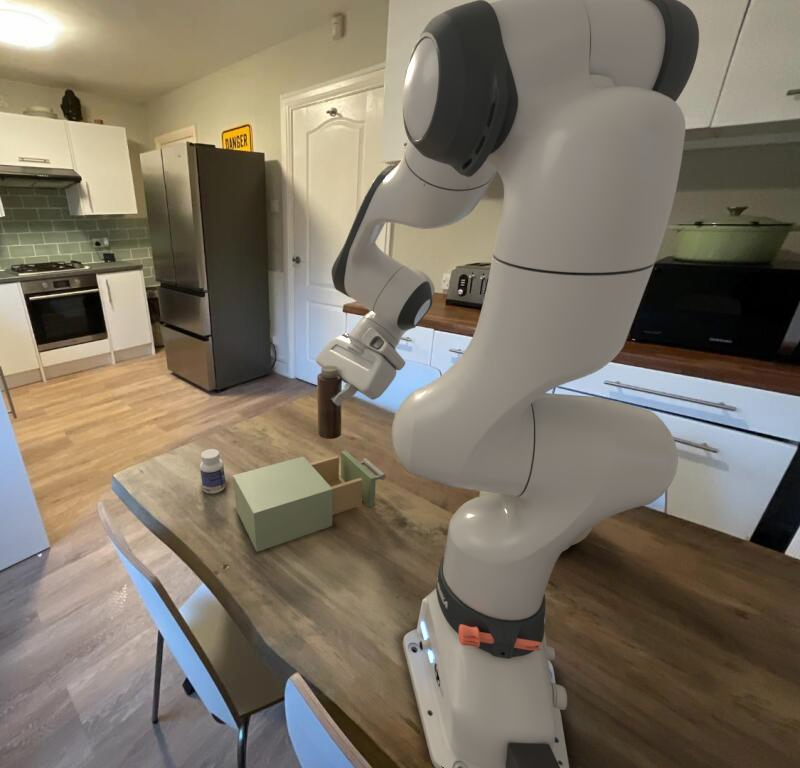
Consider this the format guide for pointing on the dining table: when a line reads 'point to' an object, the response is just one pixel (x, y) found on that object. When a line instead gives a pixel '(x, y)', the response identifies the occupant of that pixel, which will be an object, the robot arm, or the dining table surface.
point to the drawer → (349, 481)
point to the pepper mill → (329, 403)
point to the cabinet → (282, 502)
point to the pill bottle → (212, 471)
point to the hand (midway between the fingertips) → (326, 397)
